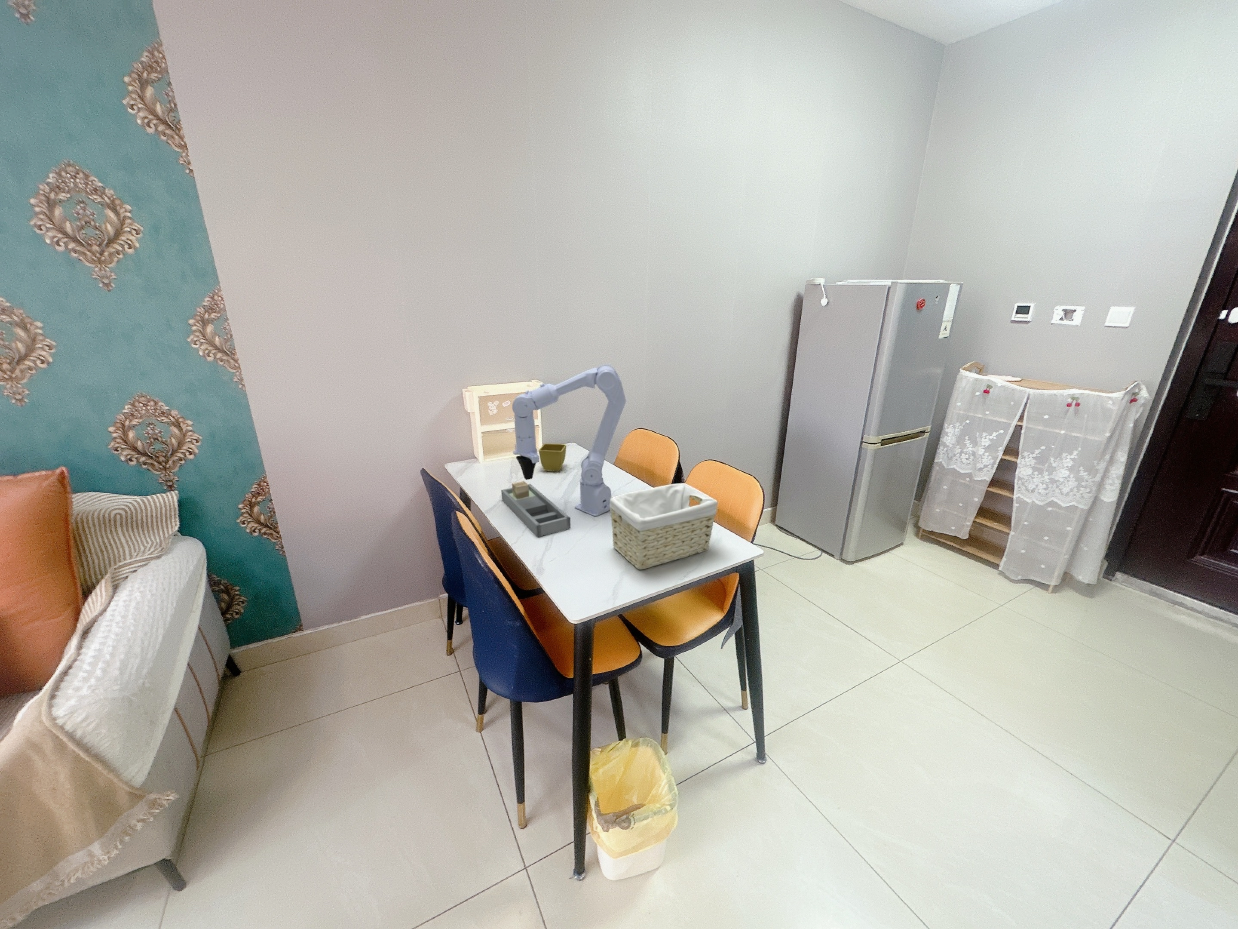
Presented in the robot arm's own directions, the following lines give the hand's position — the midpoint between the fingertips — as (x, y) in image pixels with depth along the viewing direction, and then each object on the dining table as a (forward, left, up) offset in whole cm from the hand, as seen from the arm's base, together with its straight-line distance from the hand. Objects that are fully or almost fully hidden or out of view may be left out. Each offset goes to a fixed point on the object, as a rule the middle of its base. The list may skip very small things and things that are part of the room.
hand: (528, 478), depth 147 cm
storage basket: (-45, -9, -11) cm, 47 cm away
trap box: (-3, +1, -10) cm, 11 cm away
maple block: (+7, -2, -8) cm, 11 cm away
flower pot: (+23, -28, -11) cm, 38 cm away
